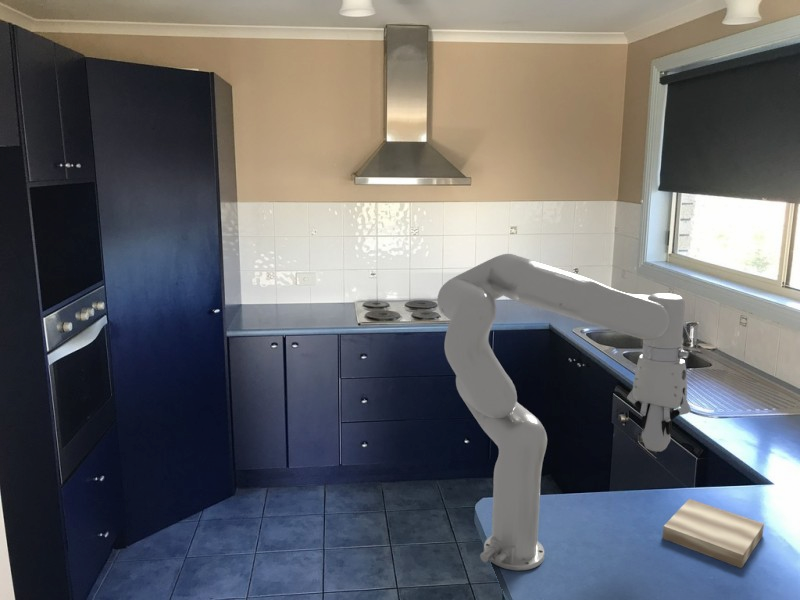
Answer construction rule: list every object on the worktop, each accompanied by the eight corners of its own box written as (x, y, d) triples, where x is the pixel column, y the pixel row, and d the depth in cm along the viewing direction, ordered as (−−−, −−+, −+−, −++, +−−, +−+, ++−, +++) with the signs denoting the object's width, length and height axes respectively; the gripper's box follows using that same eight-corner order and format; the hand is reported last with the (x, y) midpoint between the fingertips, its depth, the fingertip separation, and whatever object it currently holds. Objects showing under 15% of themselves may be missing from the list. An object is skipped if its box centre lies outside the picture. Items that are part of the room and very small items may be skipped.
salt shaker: (662, 441, 143) (666, 385, 141) (674, 452, 138) (678, 394, 135) (636, 442, 143) (640, 386, 140) (647, 453, 137) (651, 395, 135)
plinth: (741, 568, 132) (743, 555, 131) (662, 538, 142) (663, 525, 142) (762, 535, 143) (764, 523, 143) (687, 510, 154) (689, 498, 153)
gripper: (708, 355, 133) (701, 438, 137) (630, 342, 144) (625, 419, 148) (696, 364, 128) (689, 450, 132) (616, 349, 139) (612, 430, 142)
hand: (655, 433), depth 140 cm, fingers closed on salt shaker, 3 cm apart
